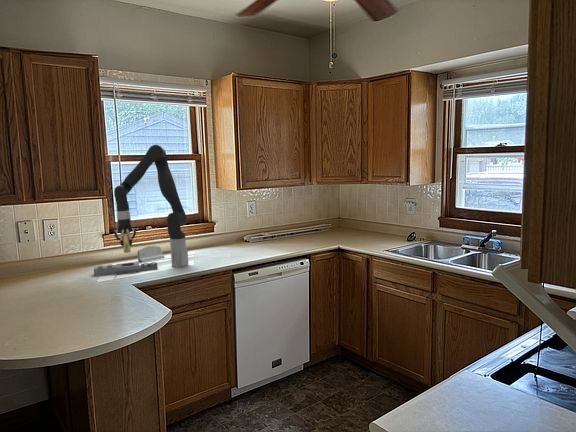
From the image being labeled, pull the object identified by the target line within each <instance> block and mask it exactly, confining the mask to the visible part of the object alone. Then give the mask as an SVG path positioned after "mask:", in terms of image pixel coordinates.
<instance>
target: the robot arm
mask: <svg viewBox="0 0 576 432" xmlns="http://www.w3.org/2000/svg"><path fill="white" fill-rule="evenodd" d="M167 157H168V156H167V153H166V150H165V149H164V147H162V146H161V145H159V144H152V145H151V146H150V147H149V148H148V150H147V151H146V152H145V155H144V156H143V157H142V159H141V160H140V161H139V162H138V163H137V165H136V166H135V167H134V168H133V169H132V170H131V171H130V172H128V174H127V175H126V177H125V178H124V180H123V181H122V182H121V183H120V184H119V185H117V186H116V187H115V188H114V191H113V195H114V198H115V202H116V217H117V218H116V219H117V229H115V230H113V234H114V236H115V238H116V240H117V241H120V242H119V243H120V246H121V247H122V248H123V239H122V238H123V233H128V236H129V239H130V247H131V246H132V245H133V239H135V237H136V235H137V228H133V227H132V219H131V212H130V204H129V201H128V196H127V195H129V193H130V192H131V191H132V190H133V188H134V187H135V186H136V185H137V184H139V182H140V181H141V180H142V178H144V175H145V174H146V172H147V171H148V170H149V168H150V167H151V166H152V165H153V164H154V165H155V167H156V171H157V182H158V183H157V184H158V187H159V189H160V193H161V195H162V196H163V197H164V199H165V200H166V201H167V202H168V203H169V205H170V207H171V211H172V212H171V213H169V214H168V215H167V217H166V227H167V233H168V235H169V245H170V260H171V267H172V268H183V267H186V266H189V254H188V252H189V250H188V249H187V242H186V233H185V232H184V231H183V230H182V228H181V227H183V226H185V225H186V224H187V221H188V219H187V215H186V211H185V210H184V209H185V208H184V207H183V205H182V203H181V200H180V196H179V194H178V189H177V187H176V183H175V180H174V177H173V174H172V172H171V168H170V167H169V163H168V158H167ZM131 232H133V233H132V235H131ZM118 233H120V237H119V236H118Z"/></svg>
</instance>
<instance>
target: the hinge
mask: <svg viewBox="0 0 576 432" xmlns="http://www.w3.org/2000/svg"><path fill="white" fill-rule="evenodd" d="M162 259H165V255H164V253H163V251H162V248H161V246H160V245H159V246H158V245H149V246H145V247H143V248H140V249H138V250H137V260H138V261H137V262H139V263H140V262H141V263H148V262H151V261H156V260H162Z"/></svg>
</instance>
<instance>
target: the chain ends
mask: <svg viewBox="0 0 576 432" xmlns="http://www.w3.org/2000/svg"><path fill="white" fill-rule="evenodd" d="M153 270H154V271H155V270H156V271H157V270H158V262H157V261H156V262H149V263H148V262H143V263H141V264H140V261H139V262H138V261H131V262H130V261H129V262H124V263H123V262H122V263H116V264H111V263H110V264H107V265H98V266H94V267H93V276H94V277H100V276H109V275H116V276H117V275H125V274H134V273H135V274H136V273H141V272H146V271H153Z"/></svg>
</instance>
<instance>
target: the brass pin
mask: <svg viewBox="0 0 576 432" xmlns="http://www.w3.org/2000/svg"><path fill="white" fill-rule="evenodd" d="M122 240H123V247H122V248H123V253H124V254H127V253H131V251H132V250H131V246H130V238H129V236H128V233H123V238H122Z"/></svg>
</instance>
